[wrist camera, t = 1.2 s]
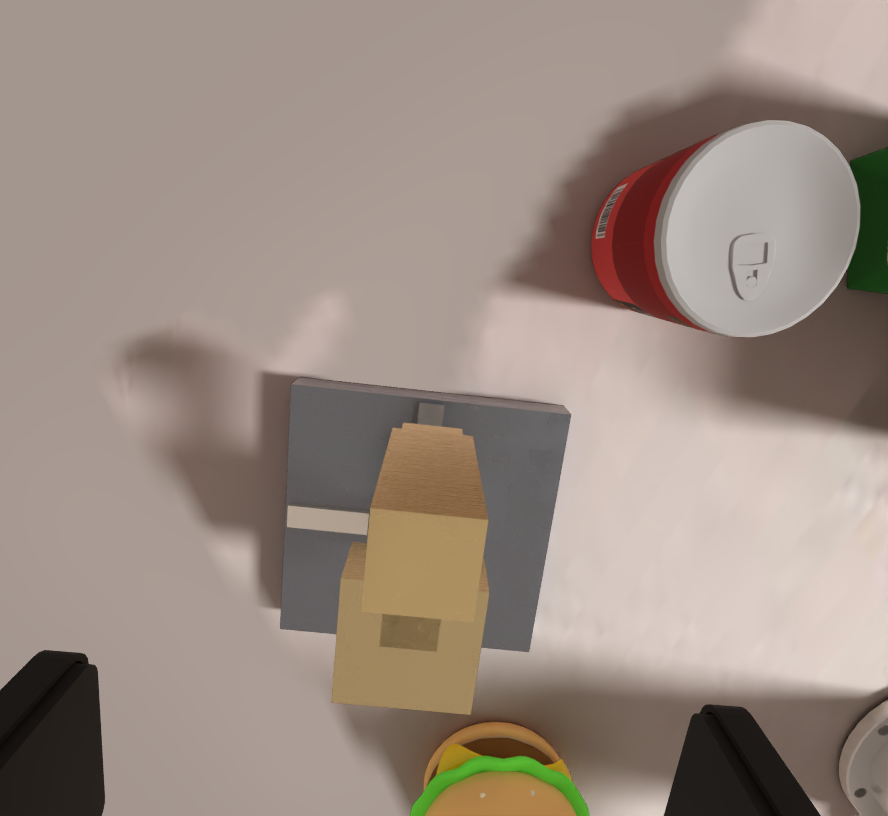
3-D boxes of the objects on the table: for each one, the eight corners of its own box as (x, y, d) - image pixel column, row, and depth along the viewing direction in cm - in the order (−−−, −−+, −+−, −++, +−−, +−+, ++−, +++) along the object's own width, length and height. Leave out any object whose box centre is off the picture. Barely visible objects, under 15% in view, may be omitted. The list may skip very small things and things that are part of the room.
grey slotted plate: (524, 632, 38) (549, 742, 30) (288, 609, 38) (242, 715, 29) (563, 405, 34) (605, 455, 26) (299, 376, 34) (250, 418, 25)
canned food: (607, 331, 33) (686, 365, 22) (569, 195, 31) (636, 162, 21) (735, 287, 33) (878, 300, 22) (705, 145, 31) (846, 84, 20)
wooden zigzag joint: (467, 666, 27) (482, 891, 18) (343, 654, 27) (288, 876, 17) (503, 418, 24) (546, 525, 14) (363, 403, 24) (310, 502, 14)
